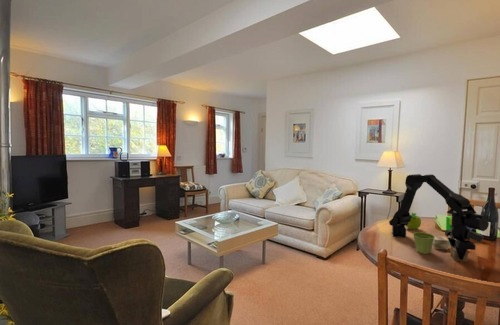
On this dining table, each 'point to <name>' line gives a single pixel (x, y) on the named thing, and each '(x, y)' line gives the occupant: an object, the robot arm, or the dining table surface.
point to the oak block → (440, 243)
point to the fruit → (414, 222)
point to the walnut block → (458, 256)
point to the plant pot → (423, 242)
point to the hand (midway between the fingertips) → (458, 256)
